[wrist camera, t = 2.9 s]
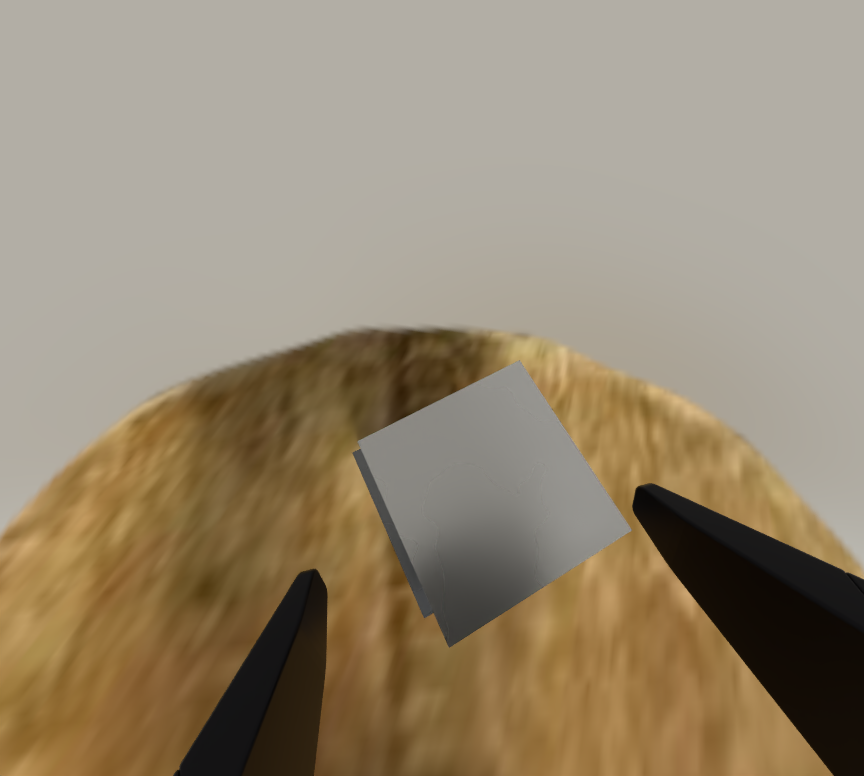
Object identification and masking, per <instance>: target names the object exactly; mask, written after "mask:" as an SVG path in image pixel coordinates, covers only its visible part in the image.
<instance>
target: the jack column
mask: <svg viewBox="0 0 864 776" xmlns="http://www.w3.org/2000/svg"><path fill="white" fill-rule="evenodd" d="M358 444H359V446H360V448H361V450H362V453H363V455H364V457H365V459H366V462H367V464H368V466H369V468H370V471H371V473H372V475H373V477H374V480H375V482H376V484H377V486H378V489H379V491H380V493H381V495H382V498H383V500H384V502H385V504H386V507H387V509H388V511H389V513H390V516H391V518H392V520H393V522H394V525H395V527H396V529H397V531H398V534H399V536H400V538H401V540H402V543H403V545H404V547H405V549H406V552H407V554H408V556H409V558H410V561H411V563H412V565H413V567H414V570H415V572H416V574H417V576H418V579H419V581H420V583H421V585H422V588H423V590H424V592H425V594H426V597H427V599H428V601H429V603H430V606H431V608H432V610H433V612H434V615H435V617H436V619H437V621H438V624H439V626H440V628H441V631H442V633H443V635H444V637H445V640H446V642H447V644H448V646H449V647H451V646H453V645H454V644H456V643H457V642H459V641H460V640H462V639H463V638H465V637H467V636H468V635H470V634H471V633H473V632H474V631H476V630H477V629H479V628H481V627H482V626H484V625H485V624H487V623H488V622H490V621H491V620H493V619H495V618H496V617H498V616H499V615H501V614H502V613H504V612H505V611H507V610H509V609H510V608H512V607H513V606H515V605H516V604H518V603H520V602H521V601H523V600H524V599H526V598H527V597H529V596H530V595H532V594H534V593H535V592H537V591H538V590H540V589H541V588H543V587H544V586H546V585H548V584H549V583H551V582H552V581H554V580H555V579H557V578H558V577H560V576H562V575H563V574H565V573H566V572H568V571H569V570H571V569H572V568H574V567H576V566H577V565H579V564H580V563H582V562H583V561H585V560H586V559H588V558H590V557H591V556H593V555H594V554H596V553H597V552H599V551H600V550H602V549H604V548H605V547H607V546H608V545H610V544H611V543H613V542H614V541H616V540H618V539H619V538H621V537H622V536H624V535H625V534H627V533H628V532H630V531H632V530H631V528H630V527H629V525H628V524H627V522H626V521H625V519H624V518H623V516H622V515H621V513H620V512H619V510H618V508H617V507H616V505H615V504H614V502H613V501H612V499H611V498H610V496H609V495H608V493H607V492H606V490H605V489H604V487H603V486H602V484H601V483H600V481H599V480H598V478H597V477H596V475H595V474H594V472H593V471H592V469H591V468H590V466H589V465H588V463H587V462H586V460H585V459H584V457H583V456H582V454H581V453H580V451H579V450H578V448H577V446H576V445H575V443H574V442H573V440H572V439H571V437H570V436H569V434H568V433H567V431H566V430H565V428H564V427H563V425H562V424H561V422H560V421H559V419H558V418H557V416H556V415H555V413H554V412H553V410H552V409H551V407H550V406H549V404H548V403H547V401H546V400H545V398H544V397H543V395H542V394H541V392H540V391H539V389H538V387H537V386H536V384H535V383H534V381H533V380H532V378H531V377H530V375H529V374H528V372H527V371H526V369H525V368H524V366H523V365H522V363H521V362H520V360H519V361H517V362H515V363H513V364H511V365H509V366H507V367H505V368H503V369H501V370H499V371H497V372H495V373H493V374H491V375H489V376H487V377H485V378H483V379H481V380H479V381H477V382H475V383H473V384H471V385H469V386H467V387H465V388H463V389H461V390H459V391H457V392H455V393H453V394H451V395H449V396H447V397H445V398H443V399H441V400H439V401H437V402H435V403H433V404H431V405H429V406H427V407H425V408H423V409H421V410H419V411H417V412H415V413H413V414H411V415H409V416H407V417H405V418H403V419H401V420H399V421H397V422H395V423H393V424H391V425H389V426H387V427H385V428H383V429H381V430H379V431H377V432H375V433H373V434H371V435H369V436H367V437H365V438H363V439H361V440H359V441H358Z"/></svg>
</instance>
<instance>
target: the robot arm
mask: <svg viewBox="0 0 864 776" xmlns="http://www.w3.org/2000/svg"><path fill="white" fill-rule="evenodd" d="M632 508H633V512H634V514H635V516H636V517H637V519H638V520H639V522H640V523H641V525H642V526H643V528H644V529H645V531H646V532H647V534H648V535H649V537H650V539H651V540H652V542H653V543H654V545H655V546H656V548H657V549H658V551H659V552H660V554H661V555H662V557H663V558H664V560H665V561H666V563H667V564H668V565H669V567H670V568H671V570H672V571H673V572H674V574H675V575H676V576H677V578H678V579H679V580H680V581H681V583H682V584H683V585H684V586H685V588H686V589H687V590H688V591H689V593H690V594H691V595H692V597H693V598H694V599H695V600H696V602H697V603H698V604H699V605H700V607H701V608H702V609H703V610H704V612H705V613H706V614H707V616H708V617H709V618H710V619H711V621H712V622H713V623H714V624H715V626H716V627H717V628H718V630H719V631H720V632H721V633H722V635H723V636H724V637H725V638H726V640H727V641H728V642H729V643H730V645H731V646H732V647H733V649H734V650H735V651H736V652H737V654H738V655H739V656H740V657H741V659H742V660H743V661H744V662H745V664H746V665H747V666H748V668H749V669H750V670H751V671H752V673H753V674H754V675H755V676H756V678H757V679H758V680H759V682H760V683H761V684H762V685H763V687H764V688H765V689H766V690H767V692H768V693H769V694H770V695H771V697H772V698H773V699H774V701H775V702H776V703H777V704H778V706H779V707H780V708H781V709H782V711H783V712H784V713H785V714H786V716H787V717H788V718H789V720H790V721H791V722H792V723H793V725H794V726H795V727H796V728H797V730H798V731H799V732H800V734H801V735H802V736H803V737H804V739H805V740H806V741H807V742H808V744H809V745H810V746H811V747H812V749H813V750H814V751H815V753H816V754H817V755H818V756H819V758H820V759H821V760H822V761H823V763H824V764H825V765H826V766H827V768H828V769H829V770H830V772H831V773H832V774H833V775H834V776H864V579H862V578H859V577H857V576H855V575H853V574H851V573H845V572H844V571H843V570H842V569H840V568H837V567H835V566H833V565H831V564H829V563H826V562H824V561H822V560H820V559H818V558H815V557H813V556H811V555H809V554H807V553H805V552H802V551H800V550H798V549H796V548H794V547H791V546H789V545H787V544H785V543H783V542H780V541H778V540H776V539H774V538H772V537H769V536H767V535H765V534H763V533H761V532H759V531H756V530H754V529H752V528H750V527H748V526H745V525H743V524H741V523H739V522H737V521H734V520H732V519H730V518H728V517H726V516H724V515H721V514H719V513H717V512H715V511H713V510H710V509H708V508H706V507H704V506H702V505H699V504H697V503H695V502H693V501H691V500H689V499H686V498H684V497H682V496H680V495H678V494H675V493H673V492H671V491H669V490H667V489H664V488H662V487H660V486H658V485H656V484H652V483H649V484H644V485H641V486H638V487H637V488H636V490H635V495H634V500H633V505H632ZM326 647H327V588H326V585H325V583H324V581H323V580H322V578H321V576H320V574H319V572H318V570H316V569H310V570H307V571H303V572H301V573H299V574H298V576H297V577H296V579H295V580H294V582H293V584H292V585H291V587H290V588H289V590H288V592H287V593H286V595H285V596H284V598H283V600H282V601H281V603H280V604H279V606H278V608H277V609H276V611H275V613H274V614H273V616H272V617H271V619H270V621H269V622H268V624H267V625H266V627H265V629H264V630H263V632H262V633H261V635H260V637H259V638H258V640H257V641H256V643H255V645H254V646H253V648H252V650H251V651H250V653H249V654H248V656H247V658H246V659H245V661H244V662H243V664H242V666H241V667H240V669H239V670H238V672H237V674H236V675H235V677H234V679H233V680H232V682H231V683H230V685H229V687H228V688H227V690H226V691H225V693H224V695H223V696H222V698H221V699H220V701H219V703H218V704H217V706H216V708H215V709H214V711H213V712H212V714H211V716H210V717H209V719H208V720H207V722H206V724H205V725H204V727H203V728H202V730H201V732H200V733H199V735H198V737H197V738H196V740H195V741H194V743H193V745H192V746H191V748H190V749H189V751H188V753H187V754H186V756H185V757H184V759H183V761H182V762H181V764H180V768H179V770H177V771H176V772H175V773H174V775H173V776H314V769H315V760H316V751H317V742H318V733H319V724H320V715H321V706H322V698H323V689H324V680H325V669H326Z"/></svg>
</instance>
